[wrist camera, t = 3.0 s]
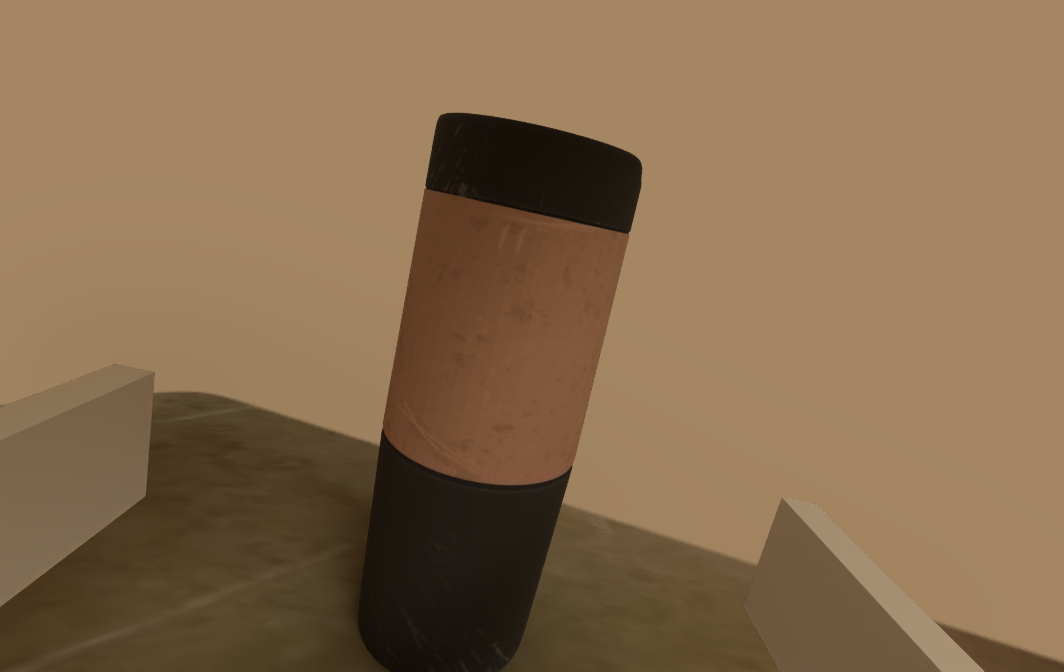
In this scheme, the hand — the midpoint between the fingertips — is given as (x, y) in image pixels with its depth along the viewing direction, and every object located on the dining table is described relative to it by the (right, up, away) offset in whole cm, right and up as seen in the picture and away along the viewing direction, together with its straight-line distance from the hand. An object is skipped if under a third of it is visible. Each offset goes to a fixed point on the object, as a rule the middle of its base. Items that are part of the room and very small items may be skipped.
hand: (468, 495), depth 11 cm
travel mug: (-3, -9, +12) cm, 15 cm away
